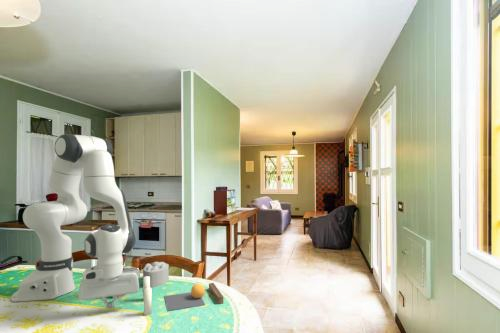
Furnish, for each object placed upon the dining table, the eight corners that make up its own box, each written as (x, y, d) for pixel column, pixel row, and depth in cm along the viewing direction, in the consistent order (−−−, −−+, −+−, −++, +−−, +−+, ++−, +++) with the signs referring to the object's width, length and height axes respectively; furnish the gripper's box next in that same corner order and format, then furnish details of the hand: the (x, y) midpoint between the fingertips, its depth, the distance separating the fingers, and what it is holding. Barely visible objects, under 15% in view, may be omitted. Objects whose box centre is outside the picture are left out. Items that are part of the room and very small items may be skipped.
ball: (199, 303, 119) (189, 293, 118) (196, 299, 124) (187, 290, 123) (209, 291, 121) (200, 282, 120) (205, 288, 126) (197, 279, 125)
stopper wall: (218, 304, 116) (218, 297, 116) (208, 289, 131) (208, 283, 131) (223, 303, 117) (223, 296, 117) (213, 288, 132) (213, 282, 132)
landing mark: (167, 311, 110) (167, 310, 110) (164, 296, 123) (164, 296, 123) (205, 305, 115) (205, 304, 115) (198, 291, 128) (198, 291, 128)
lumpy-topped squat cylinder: (171, 278, 145) (171, 260, 145) (160, 288, 132) (160, 268, 132) (150, 277, 146) (150, 259, 146) (137, 287, 133) (137, 268, 133)
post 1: (143, 301, 118) (143, 278, 119) (142, 299, 121) (143, 276, 121) (150, 300, 119) (150, 277, 120) (149, 298, 122) (149, 275, 122)
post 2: (144, 315, 107) (144, 290, 107) (143, 312, 109) (144, 287, 109) (151, 314, 108) (151, 289, 108) (151, 311, 110) (151, 286, 110)
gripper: (139, 264, 117) (139, 299, 116) (80, 270, 109) (79, 308, 109) (140, 269, 111) (140, 306, 110) (77, 276, 103) (76, 316, 103)
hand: (109, 307), depth 109 cm, fingers closed
